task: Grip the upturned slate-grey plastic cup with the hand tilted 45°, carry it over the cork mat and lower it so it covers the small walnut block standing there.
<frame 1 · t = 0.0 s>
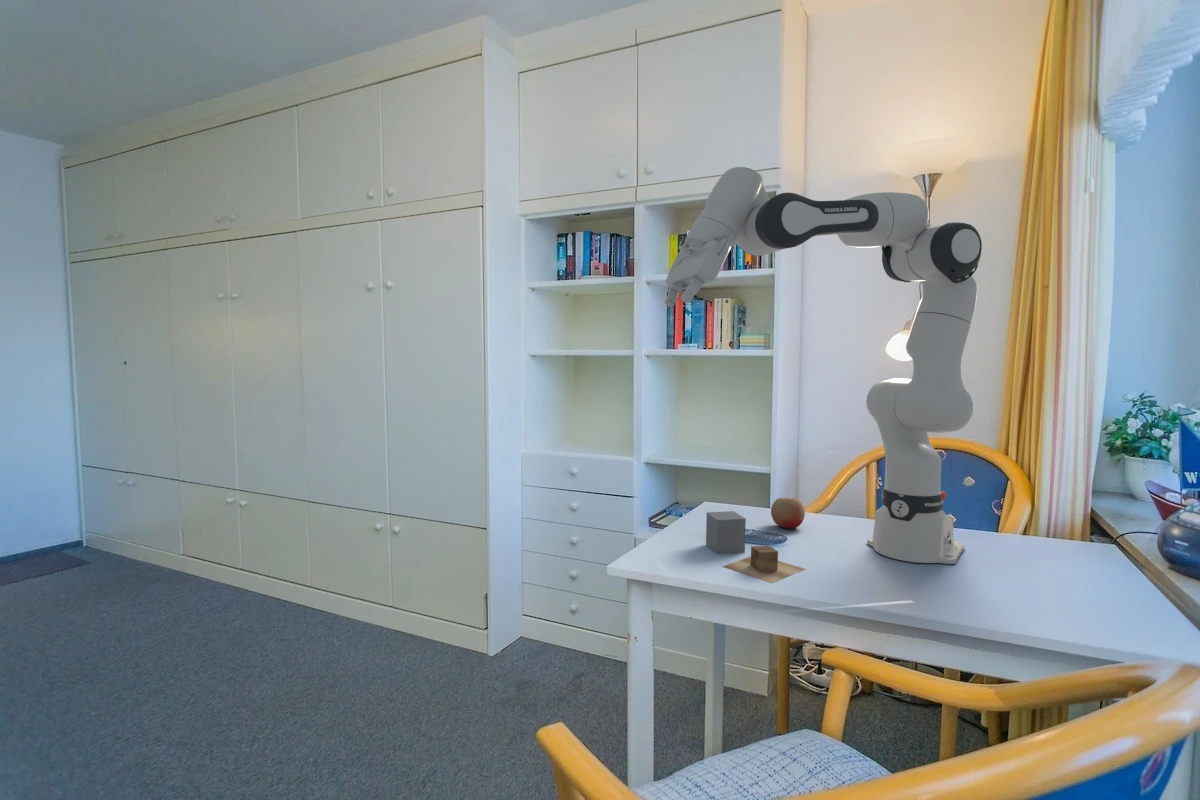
hand: (676, 303, 123), 54 cm above the table, tool tilted 30°, fingers open, 8 cm apart
fruit: (787, 528, 159), on the table
cork mat: (763, 569, 129), on the table
walnut block: (763, 567, 129), resting on cork mat
cover cup: (724, 550, 141), on the table
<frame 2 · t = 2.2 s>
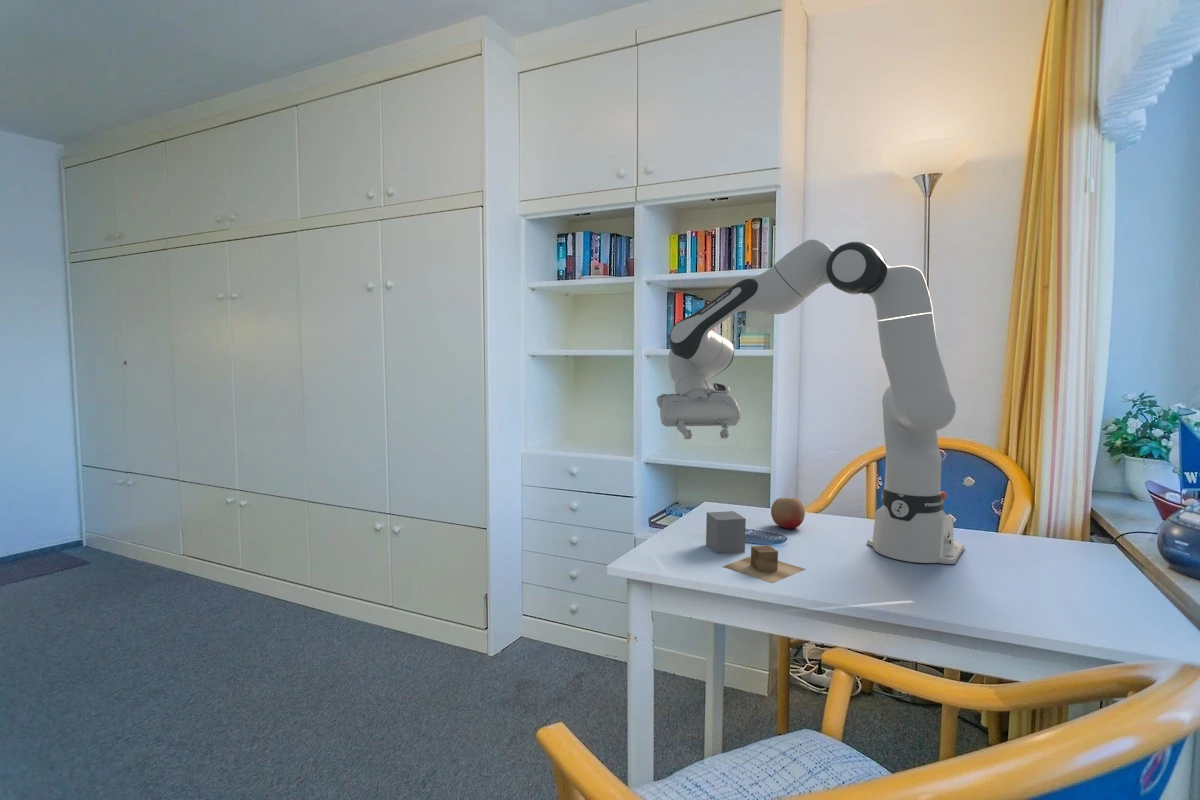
hand: (707, 437, 151), 24 cm above the table, tool tilted 45°, fingers open, 8 cm apart
nothing on the table moved.
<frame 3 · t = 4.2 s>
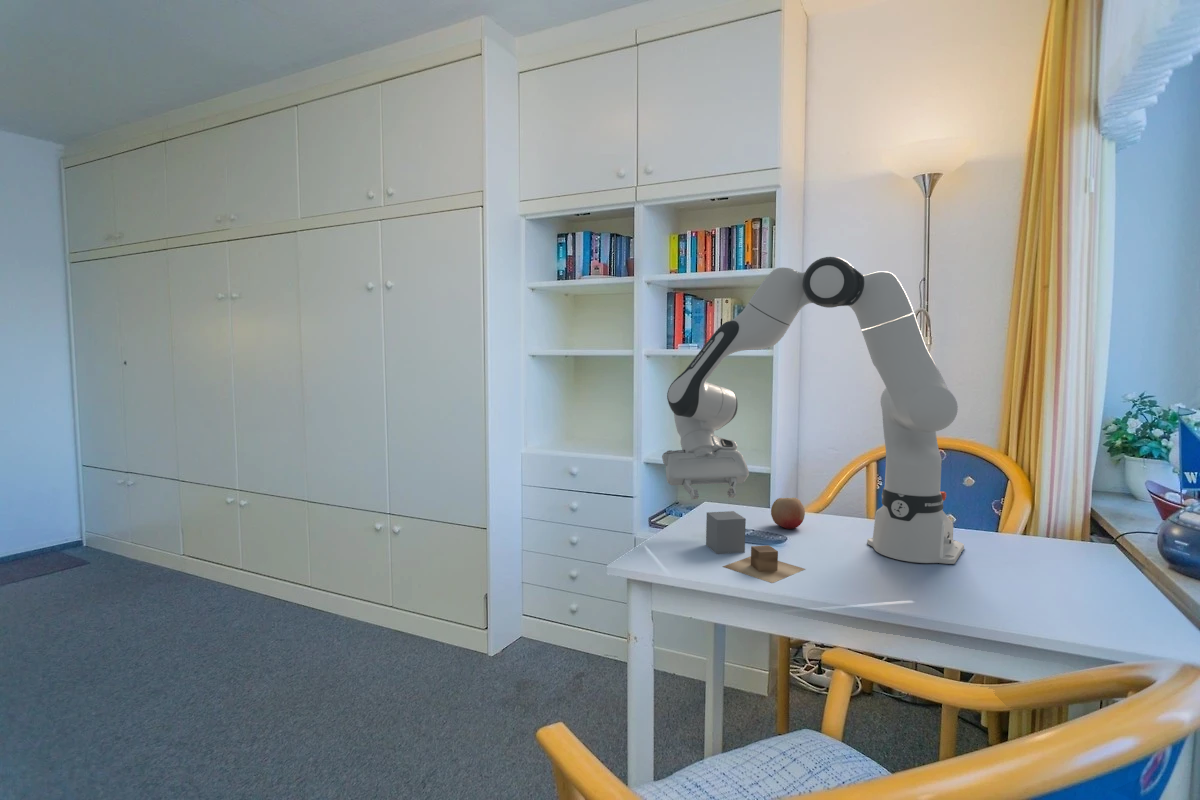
hand: (714, 497, 147), 10 cm above the table, tool tilted 45°, fingers open, 8 cm apart
nothing on the table moved.
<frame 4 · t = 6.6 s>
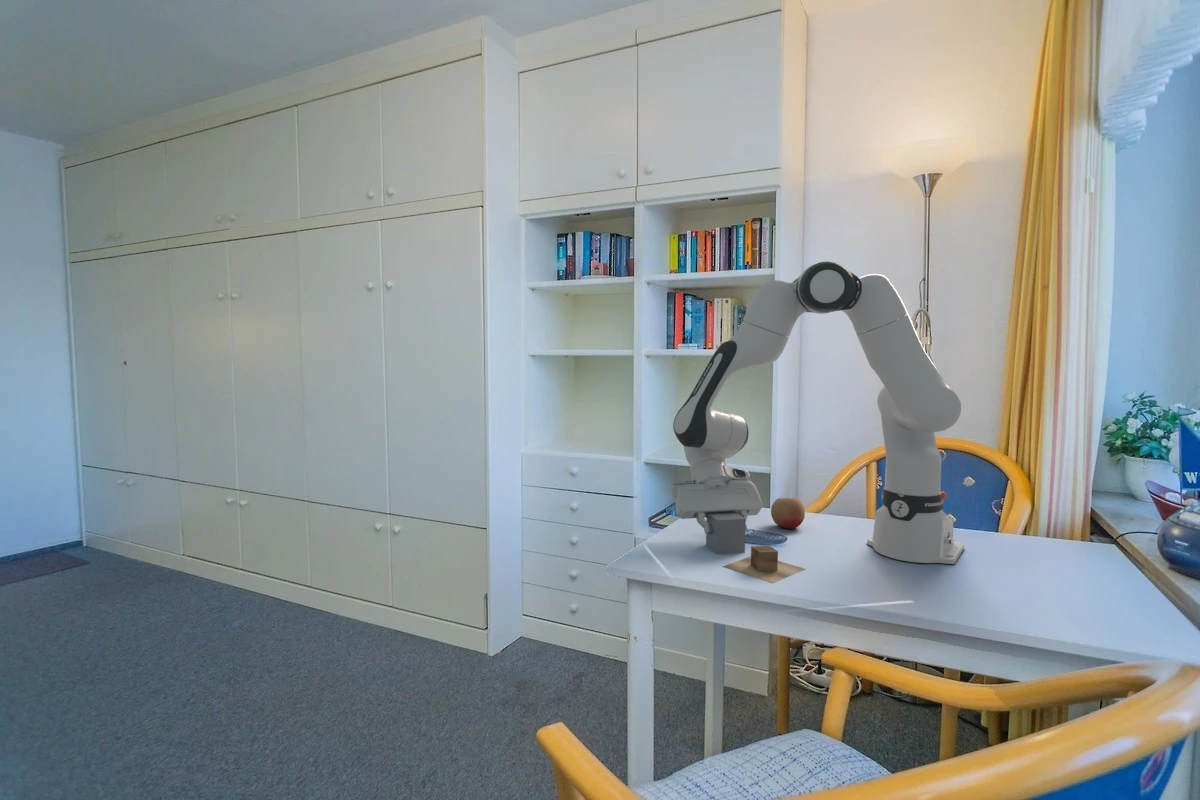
hand: (726, 531, 140), 4 cm above the table, tool tilted 45°, fingers closed on cover cup, 7 cm apart
cover cup: (724, 550, 141), on the table, touching gripper
everything else where it was.
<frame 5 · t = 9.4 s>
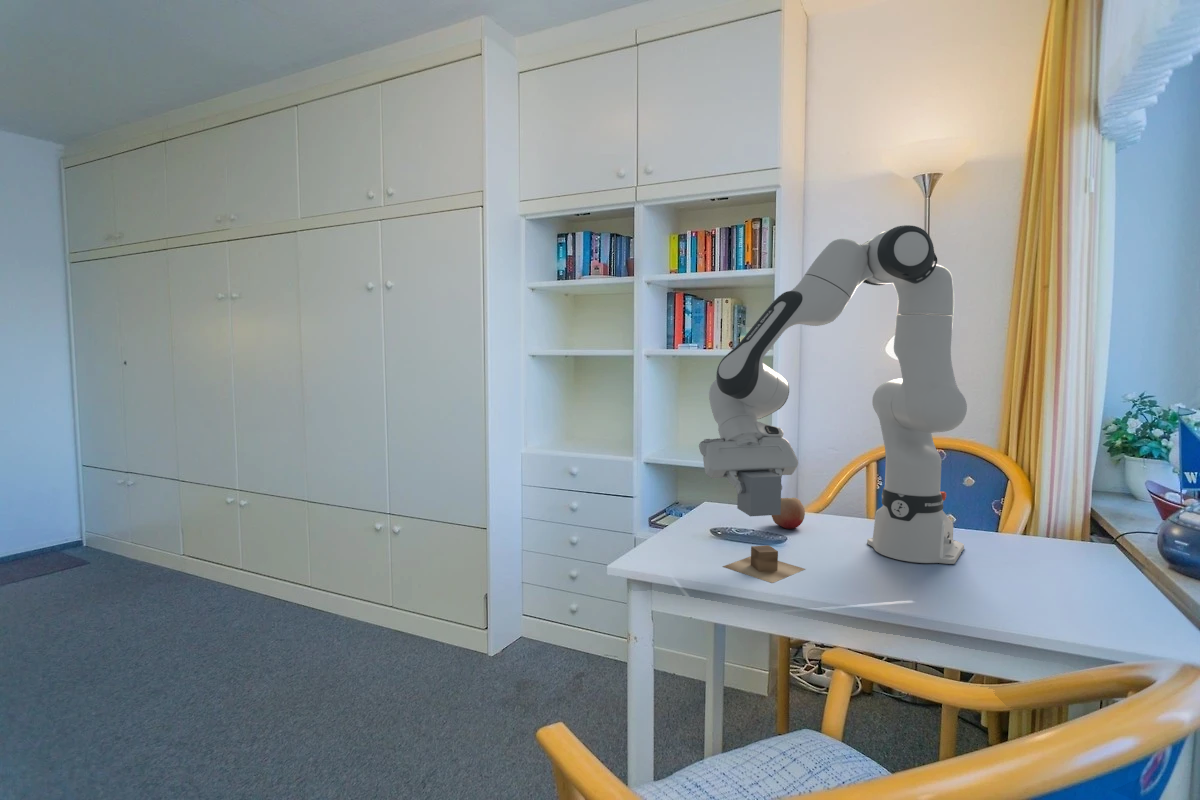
hand: (760, 491, 129), 16 cm above the table, tool tilted 45°, fingers closed on cover cup, 7 cm apart
cover cup: (758, 511, 130), point 12 cm above the table, touching gripper
everything else where it was.
when the fingers open (6 cm above the table, at t = 12.7 s): cover cup drops 2 cm, resting on cork mat.
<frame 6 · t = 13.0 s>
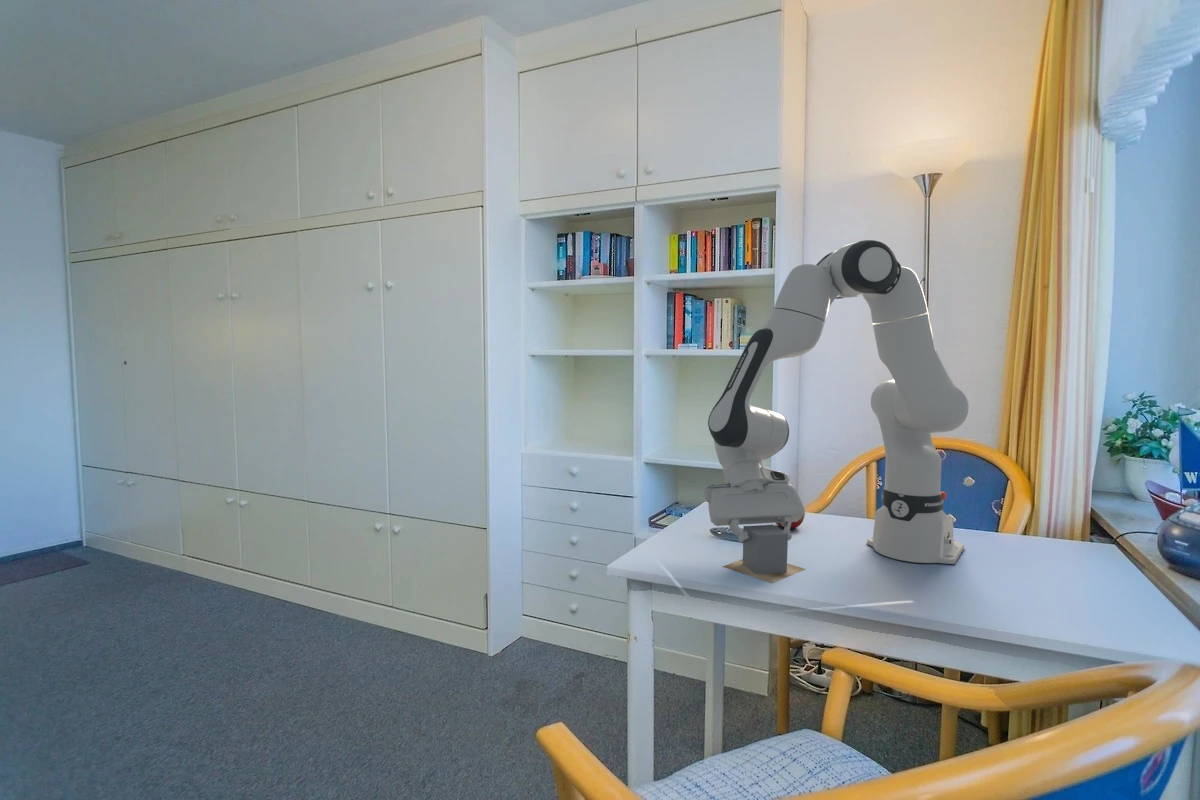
hand: (766, 540, 127), 6 cm above the table, tool tilted 45°, fingers open, 8 cm apart
cover cup: (764, 567, 129), resting on cork mat
everything else where it was.
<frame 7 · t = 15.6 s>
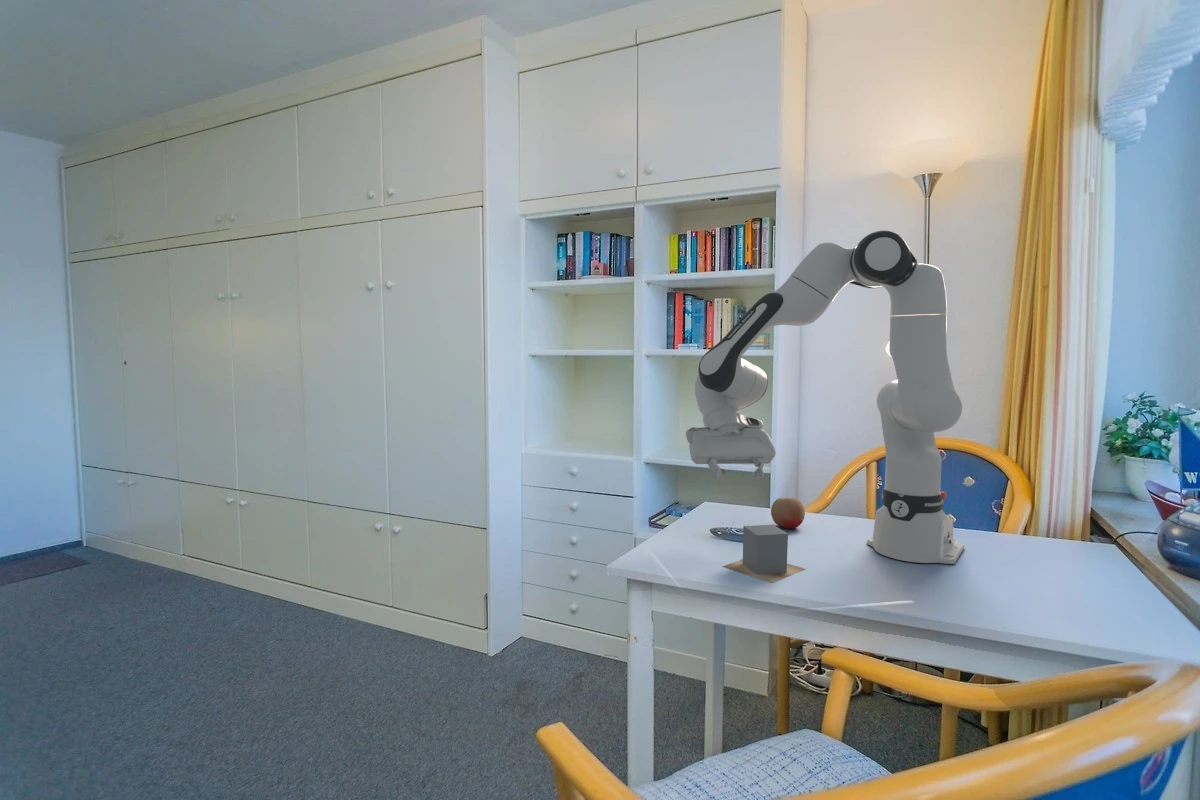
hand: (741, 477, 140), 17 cm above the table, tool tilted 45°, fingers open, 8 cm apart
nothing on the table moved.
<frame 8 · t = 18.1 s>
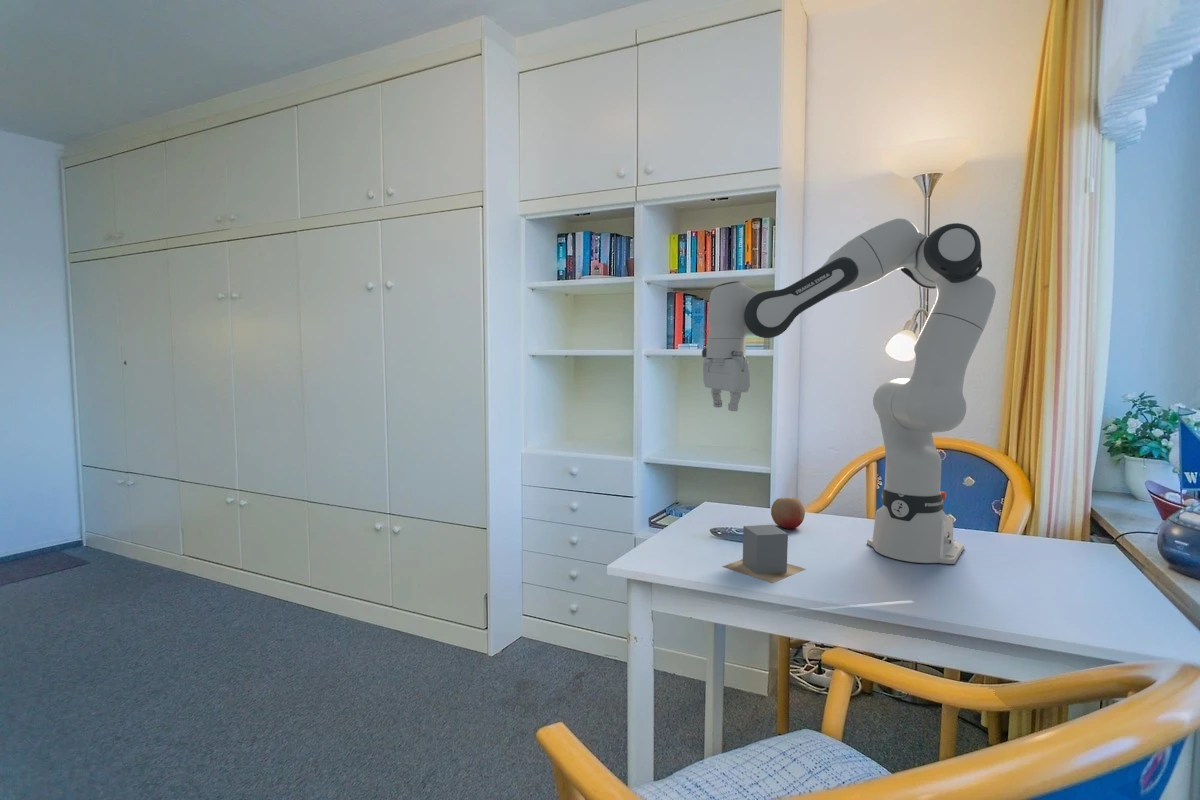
hand: (725, 409, 149), 31 cm above the table, tool pointing down, fingers open, 8 cm apart
nothing on the table moved.
at the end: cover cup 0.1 cm from the walnut block (horizontally); cover cup resting on cork mat; cover cup tilted 0° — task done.
